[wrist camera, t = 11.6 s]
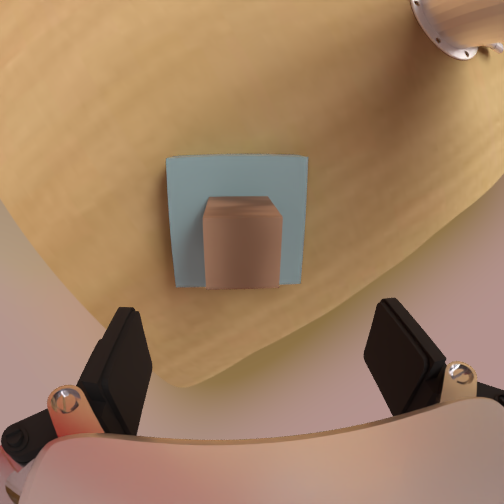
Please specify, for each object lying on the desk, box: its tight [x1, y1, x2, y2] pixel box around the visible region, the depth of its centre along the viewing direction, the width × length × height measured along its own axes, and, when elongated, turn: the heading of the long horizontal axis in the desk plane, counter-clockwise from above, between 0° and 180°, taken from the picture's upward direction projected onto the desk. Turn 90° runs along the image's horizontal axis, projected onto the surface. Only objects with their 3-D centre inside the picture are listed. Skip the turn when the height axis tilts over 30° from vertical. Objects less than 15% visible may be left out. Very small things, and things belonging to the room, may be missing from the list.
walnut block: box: [203, 196, 283, 290], centre depth 22 cm, size 5×5×7 cm
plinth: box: [166, 154, 308, 287], centre depth 27 cm, size 12×12×4 cm
